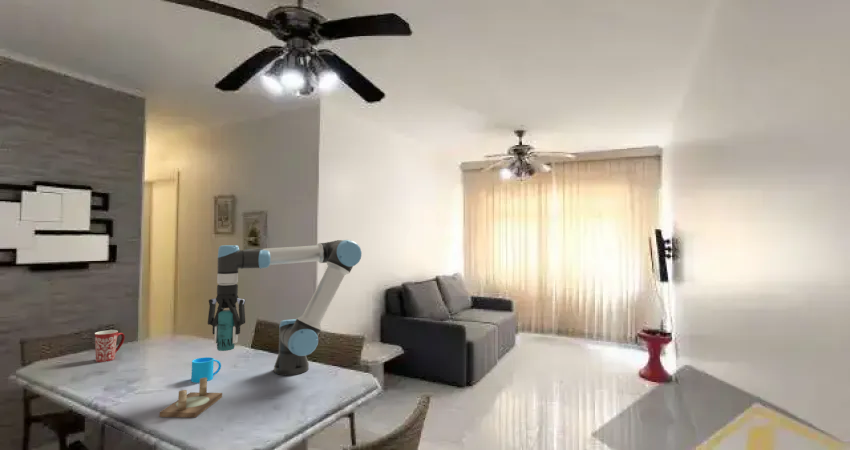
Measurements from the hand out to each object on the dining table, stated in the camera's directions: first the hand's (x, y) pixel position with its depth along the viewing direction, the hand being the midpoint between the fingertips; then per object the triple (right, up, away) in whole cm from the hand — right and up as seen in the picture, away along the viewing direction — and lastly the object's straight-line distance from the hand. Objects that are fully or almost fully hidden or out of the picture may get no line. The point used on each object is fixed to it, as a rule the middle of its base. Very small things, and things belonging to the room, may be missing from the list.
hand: (226, 342), depth 162 cm
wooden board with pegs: (-4, -18, -17) cm, 25 cm away
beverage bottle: (0, -4, 0) cm, 4 cm away
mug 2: (-15, -19, +13) cm, 27 cm away
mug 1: (-76, -19, +38) cm, 87 cm away
